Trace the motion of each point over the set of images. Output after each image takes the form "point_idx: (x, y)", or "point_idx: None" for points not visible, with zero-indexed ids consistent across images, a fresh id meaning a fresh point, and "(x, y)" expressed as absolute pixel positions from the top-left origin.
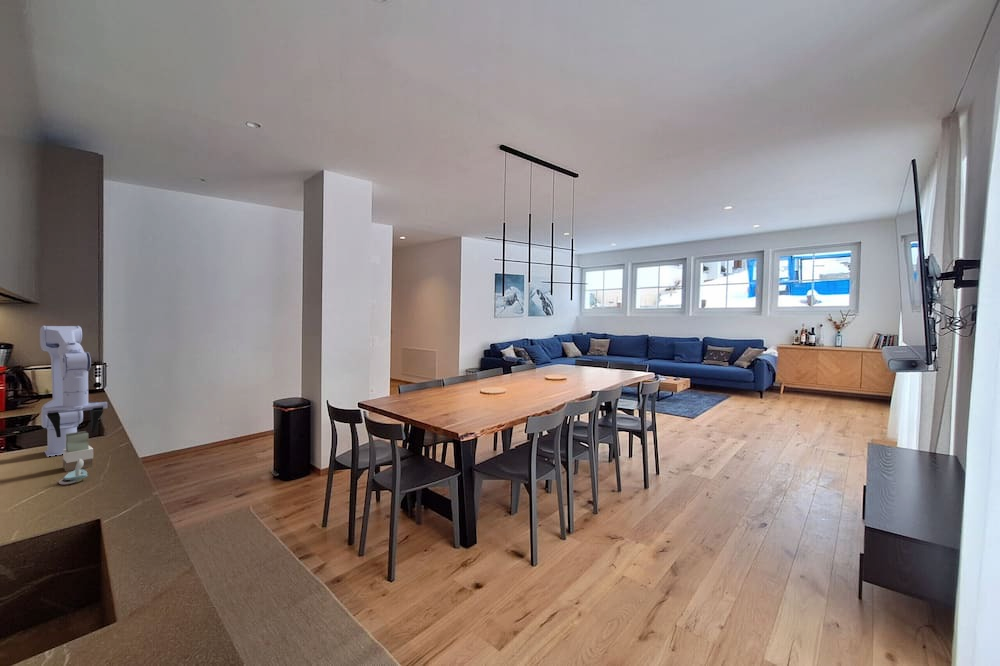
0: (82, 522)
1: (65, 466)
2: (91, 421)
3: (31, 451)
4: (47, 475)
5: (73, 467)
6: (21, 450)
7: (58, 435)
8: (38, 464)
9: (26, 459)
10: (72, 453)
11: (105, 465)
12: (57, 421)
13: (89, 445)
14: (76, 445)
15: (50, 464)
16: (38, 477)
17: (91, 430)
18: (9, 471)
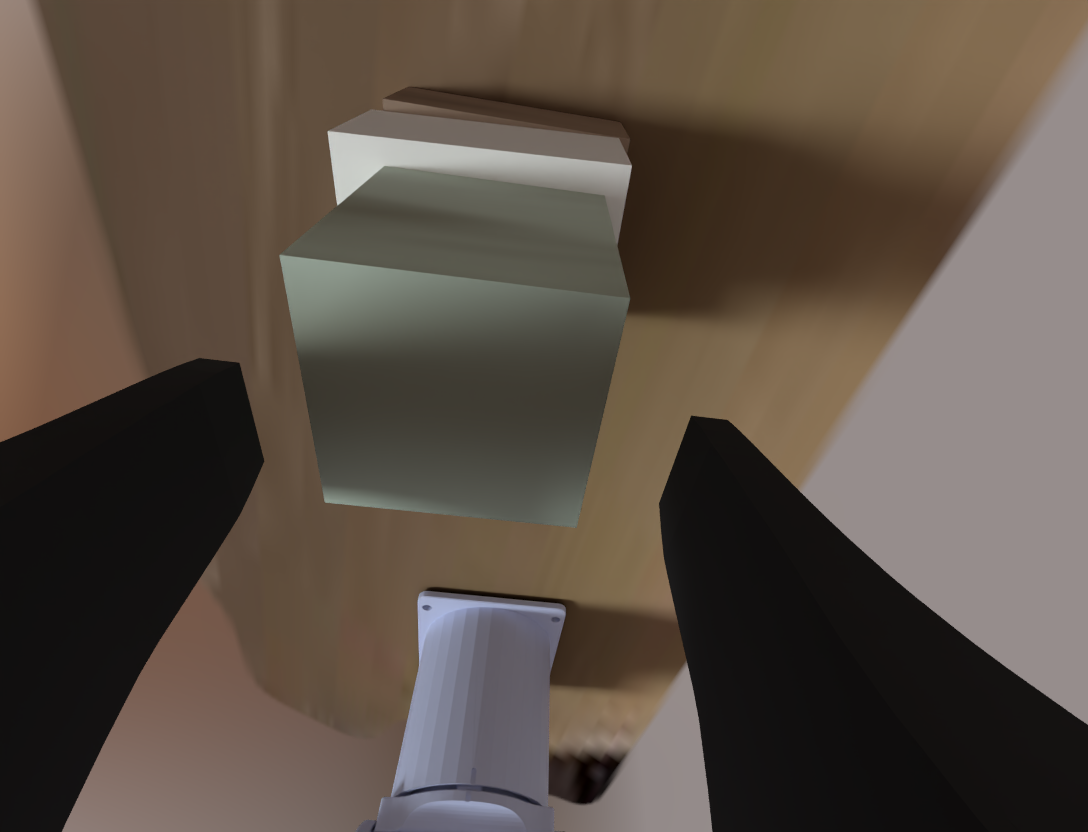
0: None
1: (625, 133)
2: (131, 634)
3: (575, 716)
4: (752, 131)
5: (559, 115)
6: (594, 744)
7: (734, 432)
8: (644, 511)
9: (637, 631)
10: (568, 152)
11: (295, 24)
12: (988, 736)
13: None
14: (511, 208)
15: (604, 462)
16: (820, 126)
17: (227, 417)
18: (796, 484)
